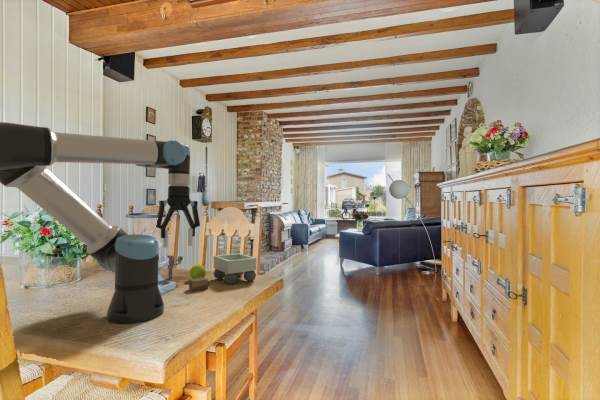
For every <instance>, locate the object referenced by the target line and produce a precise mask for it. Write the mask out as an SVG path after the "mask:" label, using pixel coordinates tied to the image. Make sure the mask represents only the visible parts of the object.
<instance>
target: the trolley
mask: <svg viewBox="0 0 600 400" xmlns="http://www.w3.org/2000/svg"><path fill="white" fill-rule="evenodd" d="M213 269H214V271H213V277H214V278H215V279H218V280H224V282H225V284H228V285H234V284H235V283H236V282H237V280H238V277H242V276H243V278H244V280H245V281H248V282H250V281H251V282H253V281H255V279H256V276H257V274H256V272H255V271H257V257H253V256H250V255H247V254H243V253H229V254H221V255H220V254H219V255H213Z"/></svg>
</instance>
